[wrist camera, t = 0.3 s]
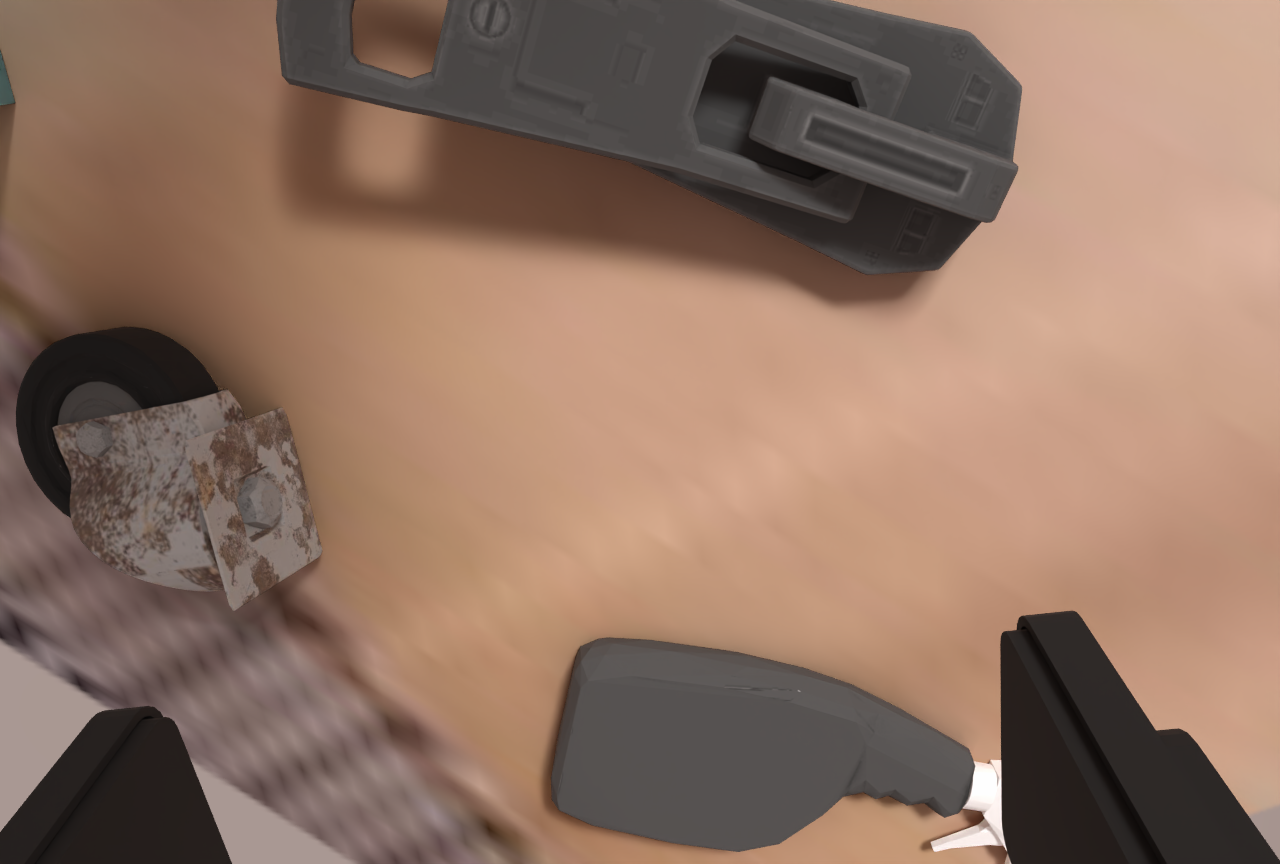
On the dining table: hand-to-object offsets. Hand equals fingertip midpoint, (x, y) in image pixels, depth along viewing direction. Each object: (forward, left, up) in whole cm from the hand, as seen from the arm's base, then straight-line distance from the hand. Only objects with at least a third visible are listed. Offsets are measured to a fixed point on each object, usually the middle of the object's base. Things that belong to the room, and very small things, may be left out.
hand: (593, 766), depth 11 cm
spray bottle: (+27, +6, -31) cm, 42 cm away
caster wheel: (+9, -21, -31) cm, 38 cm away
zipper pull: (-5, +1, -31) cm, 32 cm away
